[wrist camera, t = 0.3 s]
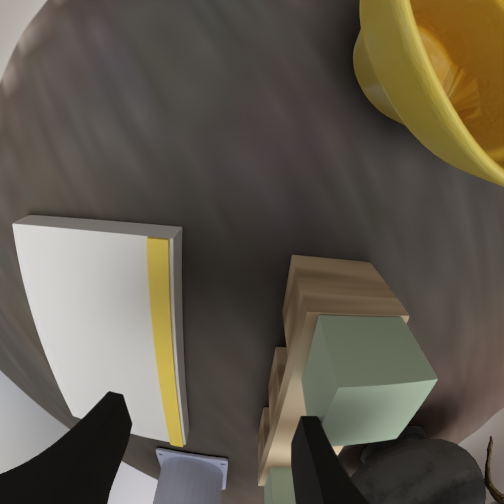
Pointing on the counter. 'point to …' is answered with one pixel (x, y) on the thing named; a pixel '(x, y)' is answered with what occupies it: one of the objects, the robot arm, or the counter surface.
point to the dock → (110, 315)
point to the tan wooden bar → (300, 338)
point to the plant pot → (439, 75)
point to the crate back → (279, 486)
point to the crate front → (364, 378)
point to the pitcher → (422, 472)
